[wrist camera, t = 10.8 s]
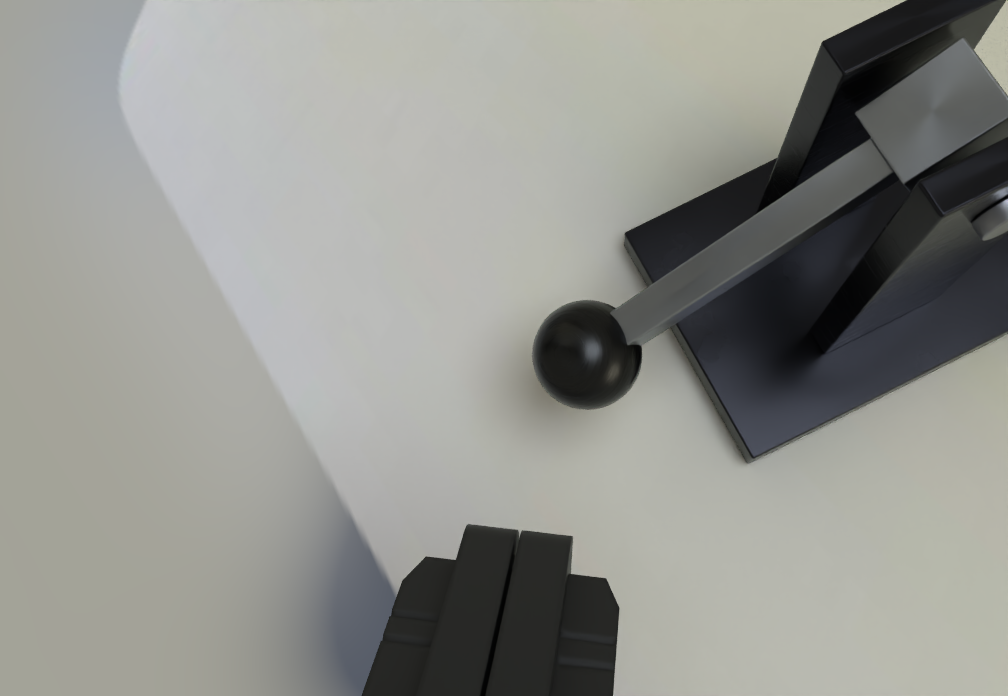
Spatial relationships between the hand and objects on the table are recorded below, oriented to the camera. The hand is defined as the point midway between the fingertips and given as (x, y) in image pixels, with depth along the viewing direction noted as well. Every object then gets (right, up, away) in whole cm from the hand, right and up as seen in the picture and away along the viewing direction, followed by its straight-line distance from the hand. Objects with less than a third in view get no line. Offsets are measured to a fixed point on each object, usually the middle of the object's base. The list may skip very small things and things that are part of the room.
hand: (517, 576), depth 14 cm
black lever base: (+12, +6, +20) cm, 24 cm away
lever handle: (+7, +6, +13) cm, 16 cm away
